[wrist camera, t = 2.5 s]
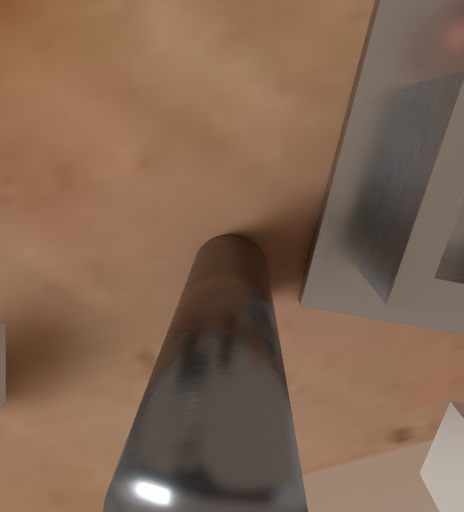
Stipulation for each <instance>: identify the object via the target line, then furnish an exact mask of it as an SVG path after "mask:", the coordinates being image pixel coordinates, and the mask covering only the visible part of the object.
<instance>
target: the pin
mask: <svg viewBox="0 0 464 512" xmlns="http://www.w3.org/2000/svg"><path fill="white" fill-rule="evenodd" d="M104 512H308V510H307V503H306V497H305V491H304V485H303V479H302V473H301V467H300V461H299V455H298V449H297V443H296V437H295V431H294V425H293V419H292V413H291V407H290V401H289V395H288V389H287V383H286V377H285V371H284V365H283V359H282V353H281V347H280V341H279V335H278V329H277V323H276V317H275V311H274V305H273V299H272V293H271V287H270V281H269V275H268V269H267V263H266V259H265V257H264V254H263V253H262V251H261V250H260V248H259V247H258V246H257V245H256V244H255V243H254V242H252V241H251V240H249V239H247V238H245V237H242V236H239V235H221V236H217V237H215V238H213V239H211V240H209V241H208V242H207V243H205V244H204V245H203V246H202V247H201V249H200V250H199V251H198V253H197V255H196V258H195V260H194V263H193V266H192V268H191V271H190V274H189V276H188V279H187V282H186V284H185V287H184V290H183V292H182V295H181V298H180V300H179V303H178V306H177V308H176V311H175V314H174V316H173V319H172V322H171V324H170V327H169V330H168V332H167V335H166V338H165V340H164V343H163V345H162V348H161V351H160V353H159V356H158V359H157V361H156V364H155V367H154V369H153V372H152V375H151V377H150V380H149V383H148V385H147V388H146V391H145V393H144V396H143V399H142V401H141V404H140V407H139V409H138V412H137V415H136V417H135V420H134V423H133V425H132V428H131V431H130V433H129V436H128V438H127V441H126V444H125V446H124V449H123V452H122V454H121V457H120V460H119V462H118V465H117V468H116V470H115V473H114V476H113V478H112V481H111V484H110V486H109V489H108V492H107V494H106V497H105V502H104Z"/></svg>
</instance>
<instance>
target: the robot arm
mask: <svg viewBox="0 0 464 512" xmlns="http://www.w3.org/2000/svg"><path fill="white" fill-rule="evenodd" d="M5 402H6V323H3V322H0V408H1V407H2V406H3V404H4V403H5ZM420 475H421V477H422V479H423V481H424V483H425V485H426V486H427V488H428V490H429V492H430V494H431V496H432V498H433V500H434V502H435V504H436V506H437V508H438V510H439V512H464V404H461V403H456V402H450V404H449V406H448V408H447V411H446V413H445V415H444V418H443V420H442V422H441V425H440V427H439V429H438V432H437V434H436V436H435V439H434V441H433V443H432V446H431V448H430V451H429V453H428V455H427V457H426V460H425V462H424V464H423V467H422V469H421V472H420Z"/></svg>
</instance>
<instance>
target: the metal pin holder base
mask: <svg viewBox="0 0 464 512" xmlns="http://www.w3.org/2000/svg"><path fill="white" fill-rule="evenodd" d="M298 301H299V304H300V306H304V307H310V308H316V309H321V310H327V311H332V312H338V313H344V314H349V315H355V316H361V317H366V318H372V319H378V320H383V321H389V322H395V323H400V324H406V325H412V326H417V327H423V328H428V329H434V330H440V331H445V332H451V333H457V334H462V335H464V0H375V4H374V8H373V12H372V16H371V20H370V23H369V27H368V31H367V35H366V39H365V43H364V47H363V51H362V54H361V58H360V62H359V66H358V70H357V74H356V78H355V82H354V85H353V89H352V93H351V97H350V101H349V105H348V109H347V112H346V116H345V120H344V124H343V128H342V132H341V136H340V140H339V143H338V147H337V151H336V155H335V159H334V163H333V167H332V170H331V174H330V178H329V182H328V186H327V190H326V194H325V198H324V201H323V205H322V209H321V213H320V217H319V221H318V225H317V228H316V232H315V236H314V240H313V244H312V248H311V252H310V256H309V259H308V263H307V267H306V271H305V275H304V279H303V283H302V286H301V290H300V294H299V298H298Z"/></svg>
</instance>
